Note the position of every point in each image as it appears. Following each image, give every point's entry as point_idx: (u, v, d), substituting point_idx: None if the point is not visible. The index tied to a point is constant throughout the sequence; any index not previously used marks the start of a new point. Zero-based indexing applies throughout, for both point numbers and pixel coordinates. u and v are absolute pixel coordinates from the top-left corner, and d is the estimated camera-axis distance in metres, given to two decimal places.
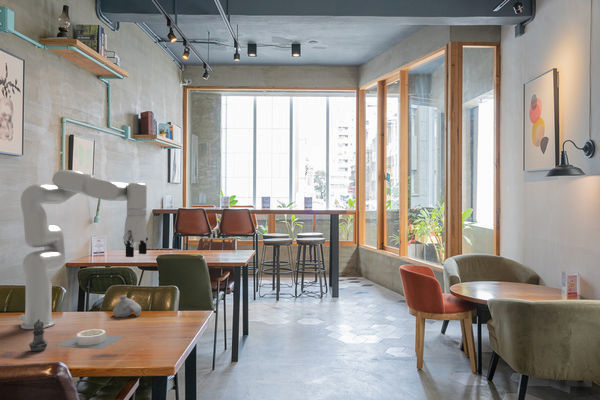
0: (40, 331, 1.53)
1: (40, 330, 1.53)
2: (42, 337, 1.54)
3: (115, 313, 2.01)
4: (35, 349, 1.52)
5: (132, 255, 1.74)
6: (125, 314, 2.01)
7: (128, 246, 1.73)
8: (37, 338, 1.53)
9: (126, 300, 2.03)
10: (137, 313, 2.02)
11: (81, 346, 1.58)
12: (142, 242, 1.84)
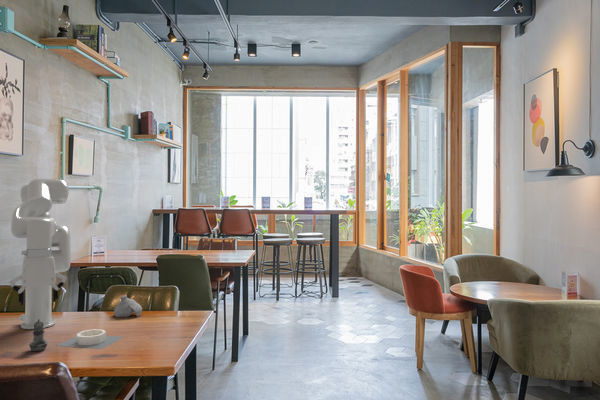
0: (40, 331, 1.53)
1: (40, 330, 1.53)
2: (42, 337, 1.54)
3: (116, 313, 2.01)
4: (35, 349, 1.52)
5: None
6: (126, 314, 2.01)
7: (58, 288, 1.57)
8: (37, 338, 1.53)
9: (127, 300, 2.03)
10: (138, 313, 2.02)
11: (81, 346, 1.58)
12: None
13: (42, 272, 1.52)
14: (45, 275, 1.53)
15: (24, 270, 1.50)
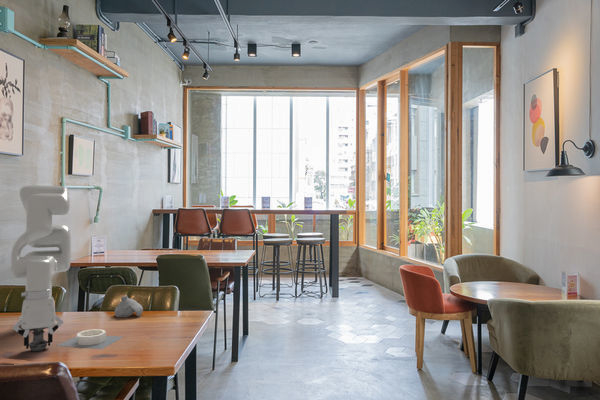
0: (40, 331, 1.53)
1: (40, 330, 1.53)
2: (42, 337, 1.54)
3: (116, 313, 2.01)
4: (35, 349, 1.52)
5: None
6: (126, 314, 2.01)
7: None
8: (37, 338, 1.53)
9: (127, 300, 2.03)
10: (138, 313, 2.02)
11: (81, 346, 1.58)
12: None
13: (42, 313, 1.52)
14: (45, 316, 1.53)
15: (23, 312, 1.50)
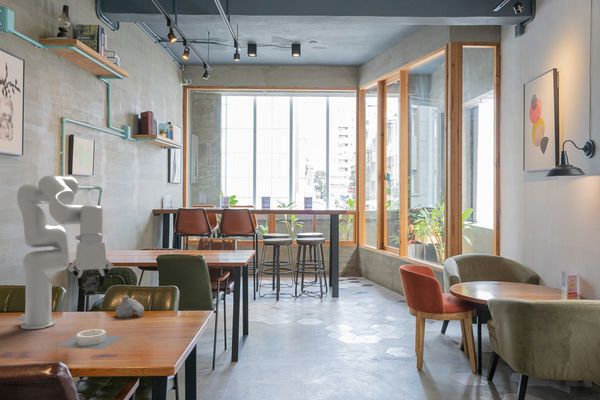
0: (92, 273, 1.63)
1: (92, 272, 1.63)
2: (94, 278, 1.63)
3: (118, 313, 2.01)
4: (88, 289, 1.61)
5: None
6: (128, 314, 2.01)
7: None
8: (90, 279, 1.62)
9: (129, 300, 2.03)
10: (139, 313, 2.02)
11: (81, 346, 1.58)
12: None
13: (95, 256, 1.62)
14: (97, 259, 1.62)
15: (78, 253, 1.60)
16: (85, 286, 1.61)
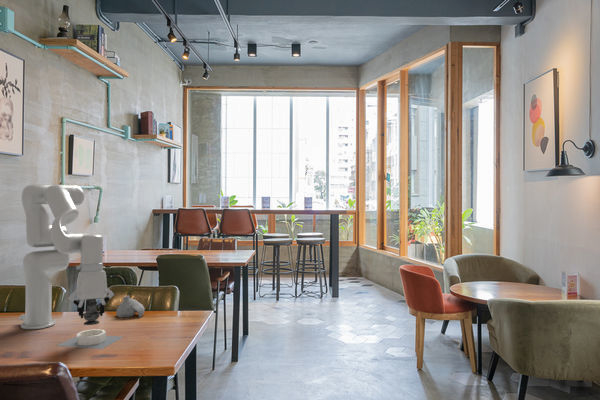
0: (93, 302, 1.63)
1: (93, 301, 1.63)
2: (95, 308, 1.64)
3: (118, 313, 2.01)
4: (89, 319, 1.61)
5: None
6: (128, 314, 2.00)
7: None
8: (90, 309, 1.62)
9: (129, 300, 2.03)
10: (140, 313, 2.02)
11: (81, 346, 1.58)
12: None
13: (95, 285, 1.62)
14: (98, 288, 1.63)
15: (79, 283, 1.60)
16: (86, 316, 1.61)
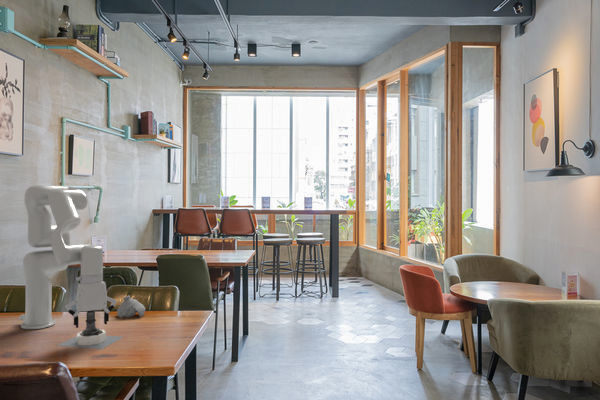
0: (92, 319, 1.63)
1: (92, 318, 1.63)
2: (94, 325, 1.63)
3: (119, 313, 2.00)
4: None
5: None
6: (129, 314, 2.00)
7: None
8: (90, 326, 1.62)
9: (130, 300, 2.03)
10: (141, 313, 2.02)
11: (81, 346, 1.58)
12: None
13: (95, 297, 1.62)
14: (98, 299, 1.63)
15: (79, 295, 1.60)
16: (85, 333, 1.61)
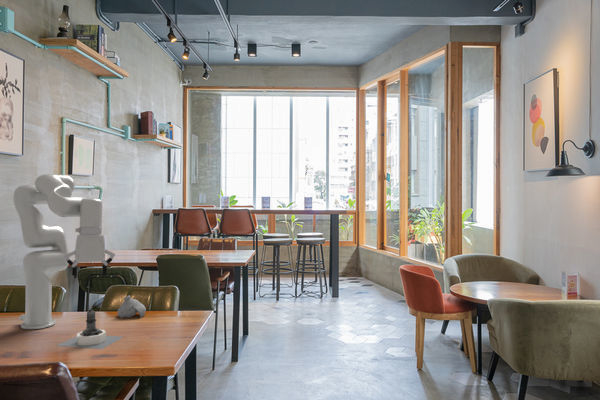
0: (93, 319, 1.63)
1: (93, 318, 1.63)
2: (94, 325, 1.64)
3: (119, 313, 2.00)
4: None
5: None
6: (129, 314, 2.00)
7: None
8: (90, 326, 1.62)
9: (130, 300, 2.03)
10: (141, 314, 2.01)
11: (81, 346, 1.58)
12: None
13: (94, 248, 1.65)
14: (96, 251, 1.65)
15: (77, 246, 1.62)
16: (85, 333, 1.61)
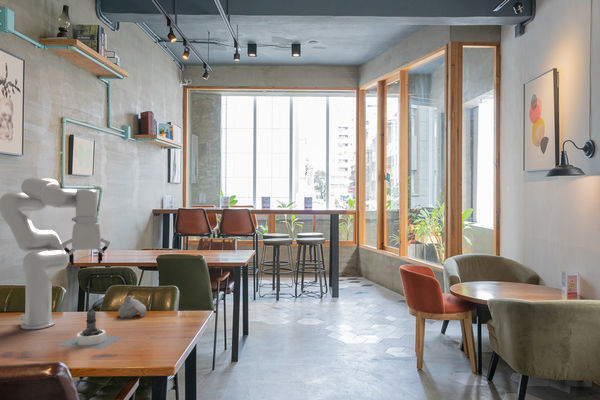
0: (93, 319, 1.63)
1: (93, 318, 1.63)
2: (94, 325, 1.64)
3: (120, 313, 2.00)
4: None
5: None
6: (130, 314, 2.00)
7: None
8: (90, 326, 1.62)
9: (131, 300, 2.03)
10: (142, 314, 2.01)
11: (81, 346, 1.58)
12: None
13: (89, 236, 1.72)
14: (92, 239, 1.73)
15: (74, 234, 1.70)
16: (85, 333, 1.61)
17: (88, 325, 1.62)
